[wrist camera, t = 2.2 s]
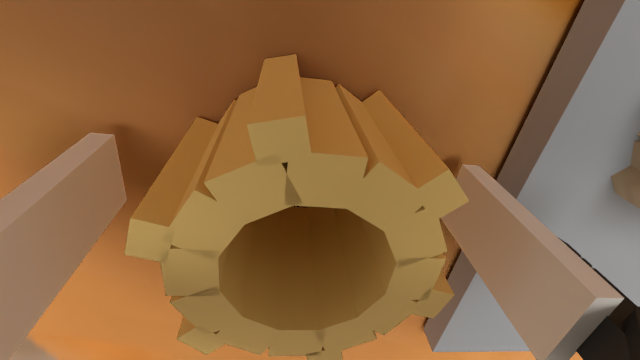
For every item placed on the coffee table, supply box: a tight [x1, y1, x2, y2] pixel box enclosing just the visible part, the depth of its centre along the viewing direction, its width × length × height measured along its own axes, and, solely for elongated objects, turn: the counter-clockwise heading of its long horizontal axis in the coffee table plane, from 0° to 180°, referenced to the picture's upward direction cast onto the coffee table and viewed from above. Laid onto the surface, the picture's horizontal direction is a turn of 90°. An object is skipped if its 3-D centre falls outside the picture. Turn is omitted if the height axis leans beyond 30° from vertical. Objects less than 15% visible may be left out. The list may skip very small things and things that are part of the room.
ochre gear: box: [124, 54, 469, 360], centre depth 11 cm, size 8×8×6 cm
